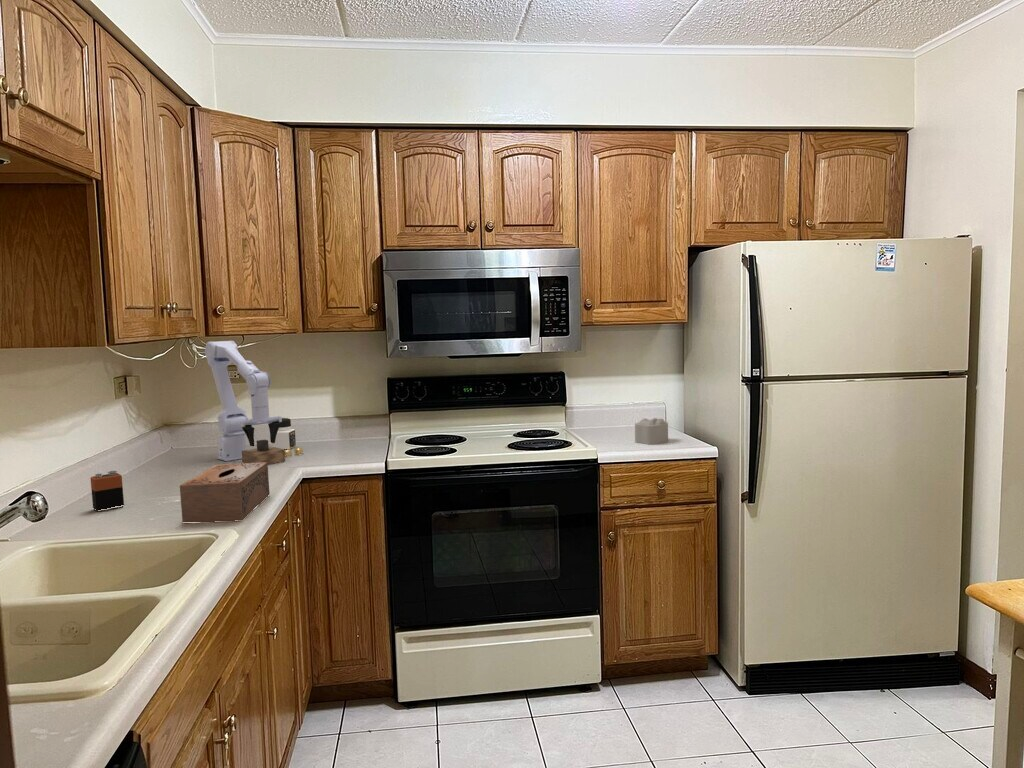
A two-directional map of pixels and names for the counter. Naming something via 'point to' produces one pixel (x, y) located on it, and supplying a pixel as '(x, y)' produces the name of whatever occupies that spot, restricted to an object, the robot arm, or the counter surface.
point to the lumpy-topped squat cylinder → (651, 431)
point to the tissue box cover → (224, 492)
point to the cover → (263, 454)
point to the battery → (107, 490)
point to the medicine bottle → (285, 435)
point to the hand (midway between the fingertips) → (262, 444)
